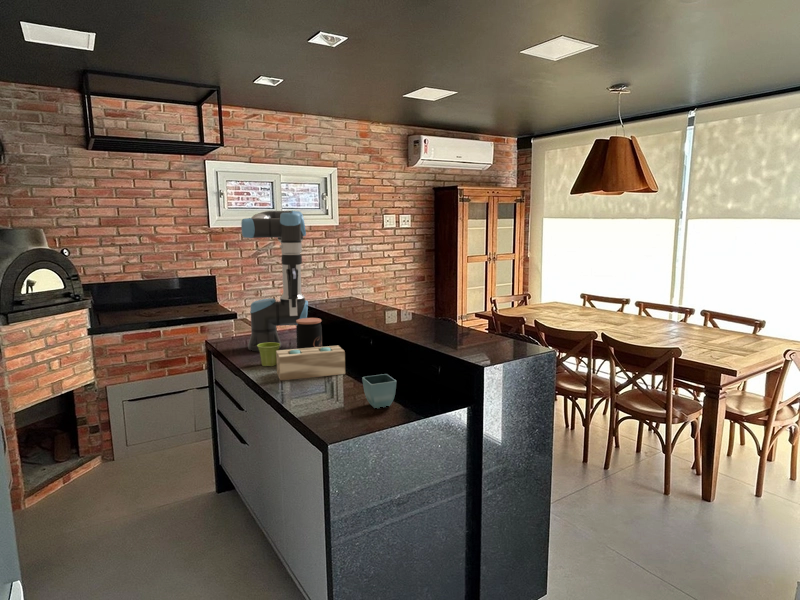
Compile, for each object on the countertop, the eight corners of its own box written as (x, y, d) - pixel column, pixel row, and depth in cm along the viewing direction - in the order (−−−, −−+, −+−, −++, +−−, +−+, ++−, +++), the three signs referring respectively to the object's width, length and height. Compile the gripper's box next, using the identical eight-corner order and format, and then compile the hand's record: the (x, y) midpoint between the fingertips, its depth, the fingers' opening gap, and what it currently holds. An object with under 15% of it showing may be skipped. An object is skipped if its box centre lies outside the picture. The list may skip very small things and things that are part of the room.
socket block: (277, 372, 203) (276, 350, 201) (338, 366, 211) (338, 345, 210) (280, 380, 192) (279, 357, 191) (345, 373, 201) (344, 351, 200)
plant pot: (272, 360, 221) (271, 341, 220) (285, 364, 215) (284, 344, 214) (253, 365, 214) (252, 345, 213) (267, 369, 208) (266, 348, 207)
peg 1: (289, 370, 201) (288, 350, 200) (299, 369, 202) (299, 349, 201) (291, 372, 197) (290, 352, 196) (301, 371, 198) (300, 351, 197)
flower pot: (371, 412, 159) (371, 384, 158) (361, 403, 167) (361, 376, 166) (397, 408, 162) (397, 380, 161) (386, 399, 170) (386, 373, 169)
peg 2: (319, 367, 205) (319, 347, 204) (329, 366, 206) (329, 346, 205) (321, 369, 201) (321, 349, 200) (331, 368, 202) (331, 349, 201)
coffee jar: (317, 364, 214) (316, 322, 212) (293, 363, 216) (292, 321, 214) (326, 358, 225) (325, 318, 222) (303, 357, 227) (301, 317, 224)
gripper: (279, 253, 198) (281, 313, 202) (283, 255, 186) (286, 318, 189) (298, 252, 201) (300, 312, 204) (304, 254, 188) (306, 317, 192)
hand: (293, 315), depth 197 cm, fingers closed
